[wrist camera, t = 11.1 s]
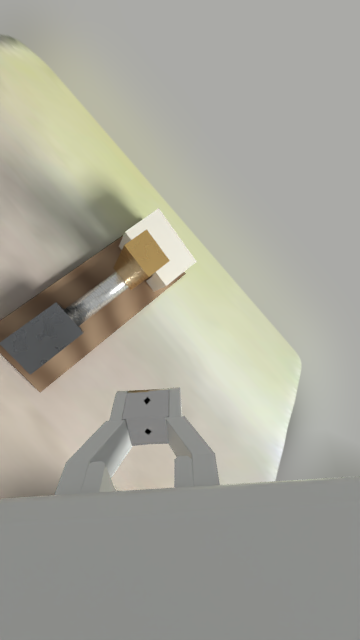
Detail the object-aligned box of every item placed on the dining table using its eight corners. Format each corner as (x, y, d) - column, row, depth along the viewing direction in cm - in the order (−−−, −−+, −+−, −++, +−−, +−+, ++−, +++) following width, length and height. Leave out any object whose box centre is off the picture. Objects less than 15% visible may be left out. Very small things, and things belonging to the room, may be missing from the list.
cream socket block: (154, 291, 42) (166, 286, 35) (118, 246, 40) (124, 231, 34) (180, 270, 44) (196, 261, 37) (147, 226, 42) (158, 208, 35)
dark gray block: (37, 368, 36) (30, 374, 31) (10, 340, 35) (-2, 343, 30) (84, 331, 38) (83, 333, 34) (60, 304, 37) (56, 302, 32)
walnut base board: (41, 390, 37) (39, 392, 36) (-17, 333, 35) (-19, 333, 34) (183, 274, 45) (185, 273, 44) (144, 221, 43) (145, 219, 42)
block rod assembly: (77, 331, 37) (72, 336, 24) (58, 310, 36) (42, 303, 23) (166, 262, 42) (202, 235, 29) (151, 242, 41) (181, 204, 28)
